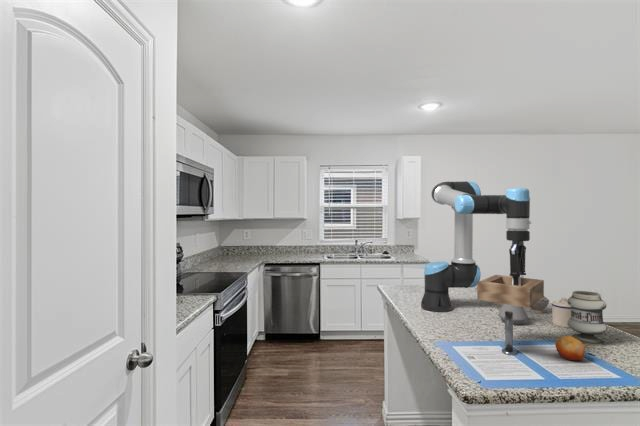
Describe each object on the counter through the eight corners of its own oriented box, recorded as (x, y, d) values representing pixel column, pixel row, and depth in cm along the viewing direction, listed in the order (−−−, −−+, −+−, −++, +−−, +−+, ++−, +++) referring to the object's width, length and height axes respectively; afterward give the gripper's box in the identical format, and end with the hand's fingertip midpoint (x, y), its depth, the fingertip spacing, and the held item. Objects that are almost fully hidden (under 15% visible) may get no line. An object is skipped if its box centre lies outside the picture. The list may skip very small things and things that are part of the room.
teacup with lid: (580, 329, 145) (579, 301, 145) (554, 326, 148) (553, 299, 148) (572, 321, 156) (572, 295, 156) (548, 319, 159) (548, 293, 159)
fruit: (577, 349, 119) (582, 333, 116) (585, 369, 113) (590, 352, 109) (550, 346, 122) (553, 330, 118) (556, 365, 116) (560, 349, 112)
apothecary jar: (560, 334, 138) (560, 289, 138) (591, 335, 138) (591, 289, 138) (582, 346, 126) (581, 296, 126) (616, 346, 126) (615, 296, 126)
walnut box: (477, 299, 121) (477, 282, 121) (495, 290, 136) (495, 274, 136) (529, 308, 110) (529, 289, 110) (543, 296, 125) (543, 280, 125)
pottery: (551, 316, 165) (551, 290, 165) (493, 310, 174) (492, 286, 174) (546, 310, 175) (546, 286, 175) (491, 305, 184) (490, 282, 184)
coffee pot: (521, 319, 159) (521, 286, 159) (532, 327, 148) (532, 291, 148) (472, 316, 163) (472, 284, 163) (478, 324, 152) (478, 289, 152)
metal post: (500, 352, 120) (499, 312, 120) (504, 349, 123) (503, 309, 123) (514, 356, 117) (514, 314, 117) (517, 352, 120) (517, 311, 120)
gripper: (523, 231, 121) (523, 298, 121) (534, 229, 132) (534, 291, 132) (500, 230, 126) (500, 295, 126) (512, 228, 138) (512, 288, 138)
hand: (517, 293), depth 129 cm, fingers closed on walnut box, 3 cm apart
